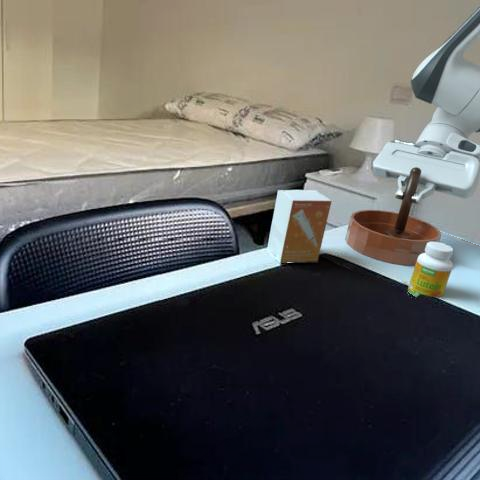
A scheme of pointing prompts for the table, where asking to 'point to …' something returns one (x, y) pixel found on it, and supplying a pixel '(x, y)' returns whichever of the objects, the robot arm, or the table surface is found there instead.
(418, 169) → the dark brown wooden dowel
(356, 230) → the bowl
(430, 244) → the supplement bottle
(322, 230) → the small box
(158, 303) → the table surface
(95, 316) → the table surface
